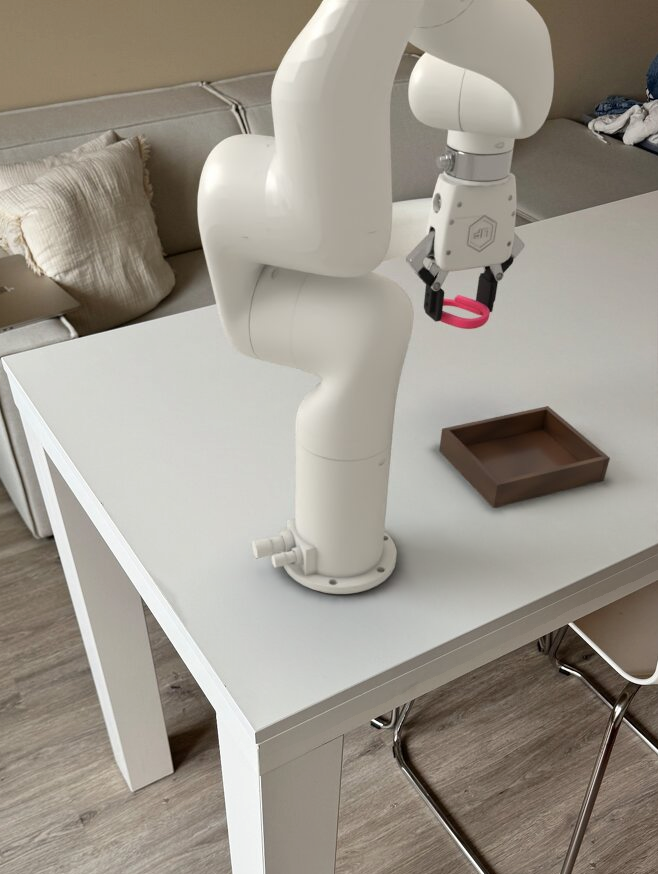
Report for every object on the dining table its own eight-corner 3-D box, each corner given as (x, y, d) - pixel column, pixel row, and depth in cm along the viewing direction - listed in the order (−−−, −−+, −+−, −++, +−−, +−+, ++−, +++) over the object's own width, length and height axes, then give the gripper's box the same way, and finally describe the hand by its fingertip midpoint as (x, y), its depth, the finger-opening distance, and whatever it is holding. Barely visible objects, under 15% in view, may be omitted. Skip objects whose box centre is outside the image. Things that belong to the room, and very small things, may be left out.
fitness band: (497, 318, 114) (499, 307, 112) (472, 334, 110) (474, 322, 109) (444, 300, 117) (445, 289, 116) (419, 315, 114) (420, 303, 113)
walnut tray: (493, 508, 105) (497, 485, 103) (438, 450, 114) (441, 428, 112) (603, 480, 110) (610, 457, 108) (543, 427, 119) (548, 405, 117)
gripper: (425, 180, 96) (411, 335, 108) (560, 164, 101) (532, 314, 113) (395, 160, 101) (384, 311, 113) (524, 146, 106) (501, 291, 118)
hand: (458, 311), depth 113 cm, fingers closed on fitness band, 6 cm apart
